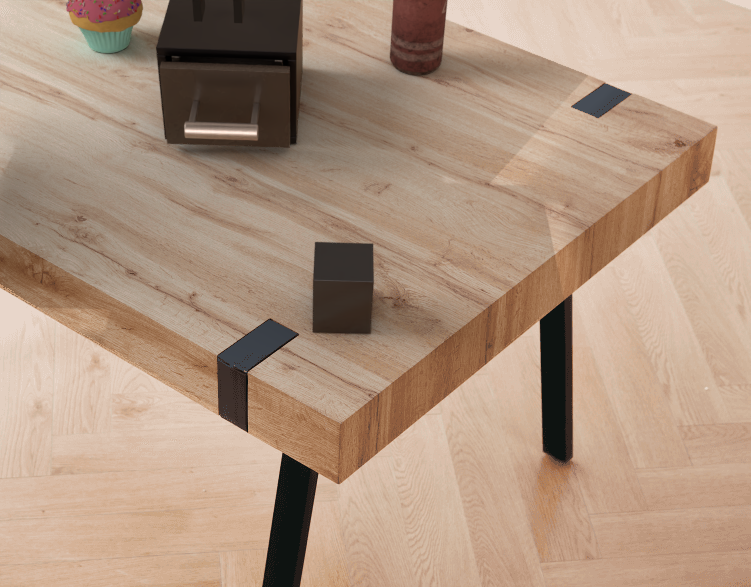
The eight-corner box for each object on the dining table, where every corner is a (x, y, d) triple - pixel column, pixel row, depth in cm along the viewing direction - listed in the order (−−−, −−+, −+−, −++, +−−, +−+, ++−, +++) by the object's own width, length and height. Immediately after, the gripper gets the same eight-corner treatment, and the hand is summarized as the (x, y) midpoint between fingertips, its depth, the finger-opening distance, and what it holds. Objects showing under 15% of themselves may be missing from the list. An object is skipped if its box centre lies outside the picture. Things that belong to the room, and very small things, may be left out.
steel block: (312, 332, 92) (312, 279, 88) (314, 293, 96) (314, 241, 92) (370, 334, 92) (373, 281, 88) (370, 295, 96) (373, 243, 92)
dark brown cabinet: (296, 144, 113) (296, 52, 106) (164, 139, 113) (155, 47, 106) (302, 67, 125) (302, -20, 118) (183, 63, 125) (176, -25, 117)
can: (403, 44, 130) (411, -68, 121) (449, 60, 128) (461, -53, 119) (378, 65, 126) (384, -49, 117) (425, 81, 124) (435, -34, 115)
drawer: (287, 180, 107) (286, 102, 101) (159, 175, 106) (151, 97, 100) (296, 75, 122) (296, 2, 116) (184, 71, 121) (178, -2, 115)
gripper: (309, -271, 87) (308, -1, 102) (109, -281, 86) (138, -7, 102) (306, -244, 81) (305, 38, 97) (91, -254, 80) (125, 31, 96)
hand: (219, 14), depth 99 cm, fingers open, 3 cm apart
